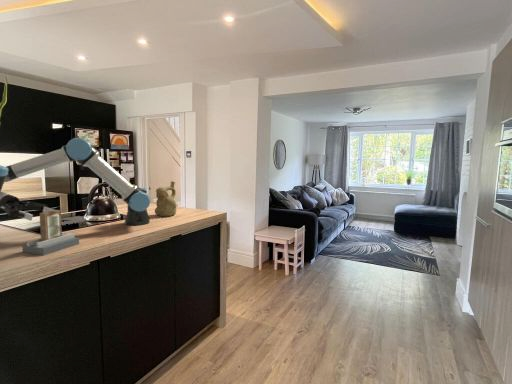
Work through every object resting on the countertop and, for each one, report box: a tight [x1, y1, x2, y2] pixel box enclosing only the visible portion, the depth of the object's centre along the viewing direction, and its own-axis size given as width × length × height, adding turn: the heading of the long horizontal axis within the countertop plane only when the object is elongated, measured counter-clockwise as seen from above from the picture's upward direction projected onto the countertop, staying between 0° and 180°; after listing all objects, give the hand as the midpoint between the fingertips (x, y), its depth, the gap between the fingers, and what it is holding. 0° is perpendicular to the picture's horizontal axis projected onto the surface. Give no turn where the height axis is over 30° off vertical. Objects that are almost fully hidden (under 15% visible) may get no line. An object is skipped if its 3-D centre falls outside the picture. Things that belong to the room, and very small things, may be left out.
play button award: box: [61, 215, 88, 226], centre depth 189 cm, size 16×2×20 cm
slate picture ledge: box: [22, 231, 80, 256], centre depth 134 cm, size 18×12×5 cm, turn 165°
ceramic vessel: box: [154, 180, 178, 217], centre depth 217 cm, size 17×20×25 cm
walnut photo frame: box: [39, 209, 63, 242], centre depth 134 cm, size 9×3×14 cm, turn 173°
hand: (44, 215), depth 141 cm, fingers open, 13 cm apart
